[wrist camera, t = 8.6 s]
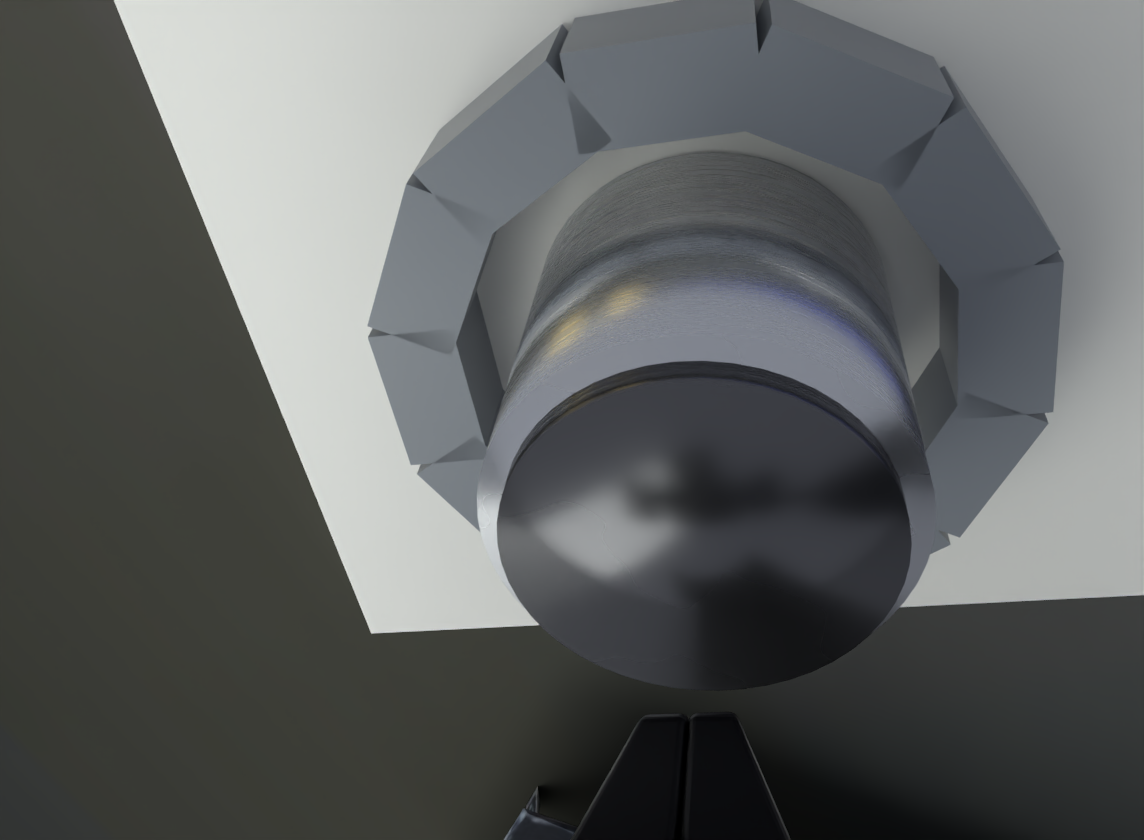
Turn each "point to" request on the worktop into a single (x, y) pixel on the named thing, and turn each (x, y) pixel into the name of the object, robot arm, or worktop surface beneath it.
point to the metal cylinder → (709, 432)
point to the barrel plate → (639, 136)
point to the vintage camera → (538, 824)
